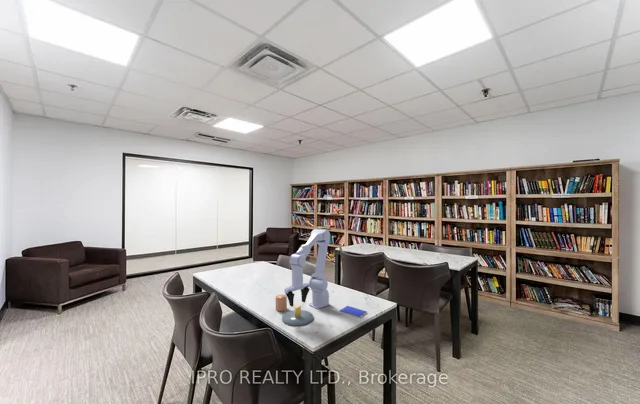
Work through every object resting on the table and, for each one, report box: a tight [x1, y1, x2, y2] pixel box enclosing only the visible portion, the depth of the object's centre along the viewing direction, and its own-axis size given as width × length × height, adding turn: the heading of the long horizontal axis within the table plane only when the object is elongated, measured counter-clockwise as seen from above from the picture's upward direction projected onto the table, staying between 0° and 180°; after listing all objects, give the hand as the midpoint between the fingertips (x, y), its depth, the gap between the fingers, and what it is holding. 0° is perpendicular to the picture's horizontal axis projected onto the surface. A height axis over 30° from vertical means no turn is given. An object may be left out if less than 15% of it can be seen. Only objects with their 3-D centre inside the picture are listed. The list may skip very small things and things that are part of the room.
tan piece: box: [275, 294, 288, 312], centre depth 145 cm, size 6×6×7 cm
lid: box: [281, 309, 314, 327], centre depth 132 cm, size 16×16×1 cm
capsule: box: [294, 305, 302, 318], centre depth 132 cm, size 3×3×5 cm
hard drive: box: [339, 305, 368, 319], centre depth 139 cm, size 2×8×12 cm
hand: (297, 303), depth 133 cm, fingers open, 7 cm apart
